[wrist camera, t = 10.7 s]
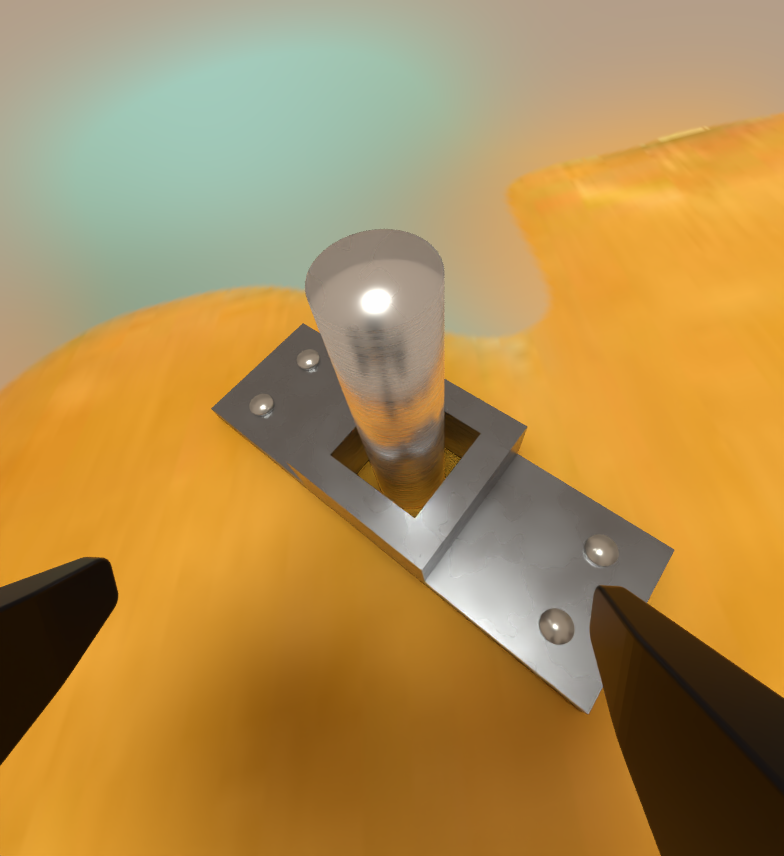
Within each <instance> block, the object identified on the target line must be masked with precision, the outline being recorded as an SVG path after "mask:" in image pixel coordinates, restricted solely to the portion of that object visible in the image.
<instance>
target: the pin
mask: <svg viewBox="0 0 784 856" xmlns="http://www.w3.org/2000/svg"><path fill="white" fill-rule="evenodd" d="M305 292H306V297H307V300H308V302H309V305H310V308H311V310H312V313H313V315H314V318H315V321H316V323H317V326H318V328H319V331H320V334H321V336H322V339H323V341H324V344H325V347H326V349H327V352H328V354H329V357H330V360H331V362H332V365H333V367H334V370H335V373H336V375H337V378H338V380H339V383H340V386H341V388H342V391H343V393H344V396H345V399H346V401H347V404H348V406H349V409H350V412H351V414H352V417H353V419H354V422H355V425H356V427H357V430H358V432H359V435H360V438H361V440H362V443H363V445H364V448H365V451H366V453H367V456H368V458H369V461H370V464H371V466H372V469H373V471H374V474H375V477H376V479H377V482H378V484H379V487H380V490H381V492H382V494H383V495H384V496H385V497H387V498H388V499H389V500H391V501H392V502H393V503H395V504H396V505H397V506H399V507H401V508H406V509H416V508H420V507H423V506H425V505H426V503H427V502H428V501H429V500H430V498H431V497H432V496H433V494H434V493H435V492H436V491H437V489H438V488H439V487H440V485H441V484H442V483H443V482H444V266H443V262H442V259H441V257H440V255H439V253H438V252H437V251H436V249H435V248H434V247H433V246H432V245H431V244H430V243H428V242H427V241H426V240H424V239H423V238H421V237H419V236H417V235H414V234H411V233H408V232H404V231H400V230H392V229H375V230H368V231H363V232H359V233H356V234H352V235H349V236H347V237H345V238H343V239H340V240H339V241H337V242H335V243H334V244H332V245H330V246H329V247H328V248H326V249H325V250H324V251H323V252H322V253H321V254H320V255H319V256H318V257H317V258H316V259H315V261H314V262H313V263H312V265H311V267H310V269H309V271H308V273H307V276H306V281H305Z"/></svg>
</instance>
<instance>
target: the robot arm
mask: <svg viewBox="0 0 784 856" xmlns="http://www.w3.org/2000/svg"><path fill="white" fill-rule="evenodd" d="M117 601H118V590H117V586H116V582H115V578H114V574H113V570H112V566H111V563H110V562H109V561H108V560H107V559H105V558H99V557H83V558H80V559H77V560H75V561H72V562H69V563H66V564H64V565H61V566H58V567H55V568H53V569H50V570H47V571H44V572H42V573H39V574H36V575H33V576H31V577H28V578H25V579H22V580H20V581H17V582H14V583H11V584H8V585H6V586H3V587H0V766H1V764H2V763H3V762H4V760H5V759H6V758H7V757H8V755H9V754H10V753H11V751H12V750H13V749H14V748H15V746H16V745H17V744H18V742H19V741H20V740H21V739H22V737H23V736H24V735H25V733H26V732H27V731H28V730H29V728H30V727H31V726H32V724H33V723H34V722H35V721H36V719H37V718H38V717H39V715H40V714H41V713H42V712H43V710H44V709H45V708H46V706H47V705H48V704H49V703H50V701H51V700H52V699H53V697H54V696H55V695H56V693H57V692H58V691H59V689H60V688H61V687H62V685H63V684H64V683H65V681H66V680H67V678H68V677H69V676H70V674H71V673H72V671H73V670H74V668H75V667H76V665H77V664H78V662H79V661H80V659H81V658H82V656H83V655H84V653H85V652H86V650H87V649H88V647H89V646H90V644H91V643H92V641H93V640H94V638H95V637H96V635H97V634H98V632H99V631H100V629H101V628H102V626H103V625H104V623H105V622H106V620H107V619H108V617H109V616H110V614H111V612H112V611H113V609H114V608H115V606H116V604H117ZM589 632H590V639H591V644H592V647H593V651H594V655H595V659H596V662H597V666H598V670H599V674H600V677H601V681H602V685H603V689H604V692H605V696H606V700H607V704H608V707H609V711H610V715H611V719H612V722H613V726H614V729H615V733H616V736H617V739H618V742H619V745H620V748H621V751H622V754H623V756H624V759H625V762H626V764H627V767H628V770H629V772H630V775H631V778H632V780H633V783H634V786H635V788H636V791H637V794H638V796H639V799H640V802H641V804H642V807H643V810H644V812H645V815H646V818H647V820H648V823H649V826H650V828H651V831H652V833H653V836H654V839H655V841H656V844H657V847H658V849H659V852H660V855H661V856H784V698H783V697H781V696H780V695H779V694H777V693H776V692H774V691H773V690H771V689H770V688H768V687H767V686H766V685H764V684H763V683H761V682H760V681H758V680H757V679H756V678H754V677H753V676H751V675H750V674H748V673H747V672H745V671H744V670H743V669H741V668H740V667H738V666H737V665H735V664H734V663H732V662H731V661H730V660H728V659H727V658H725V657H724V656H722V655H721V654H719V653H718V652H717V651H715V650H714V649H712V648H711V647H709V646H708V645H706V644H705V643H704V642H702V641H701V640H699V639H698V638H696V637H695V636H694V635H692V634H691V633H689V632H688V631H686V630H685V629H683V628H682V627H681V626H679V625H678V624H676V623H675V622H673V621H672V620H670V619H669V618H668V617H666V616H665V615H663V614H662V613H660V612H659V611H657V610H656V609H655V608H653V607H652V606H650V605H649V604H647V603H646V602H645V601H643V600H642V599H640V598H639V597H637V596H636V595H634V594H633V593H632V592H630V591H629V590H627V589H626V588H624V587H621V586H608V585H599V586H597V587H596V588H595V591H594V594H593V602H592V609H591V616H590V624H589Z"/></svg>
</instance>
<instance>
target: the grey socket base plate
mask: <svg viewBox="0 0 784 856" xmlns="http://www.w3.org/2000/svg"><path fill="white" fill-rule="evenodd" d="M211 409H212V410H213V411H214V412H215V413H216V414H217V415H218V416H219V417H220V418H221V419H222V420H223V421H225V422H226V423H227V424H228V425H230V426H231V427H232V428H233V429H234V430H236V431H237V432H238V433H239V434H241V435H242V436H243V437H244V438H246V439H247V440H248V441H249V442H250V443H252V444H253V445H254V446H255V447H257V448H258V449H259V450H260V451H262V452H263V453H264V454H265V455H266V456H268V457H269V458H270V459H271V460H273V461H274V462H275V463H276V464H278V465H279V466H280V467H281V468H282V469H284V470H285V471H286V472H287V473H289V474H290V475H291V476H292V477H293V478H295V479H296V480H297V481H298V482H300V483H301V484H302V485H303V486H305V487H306V488H307V489H308V490H309V491H311V492H312V493H313V494H314V495H316V496H317V497H318V498H319V499H321V500H322V501H323V502H324V503H325V504H327V505H328V506H329V507H330V508H332V509H333V510H334V511H335V512H337V513H338V514H339V515H340V516H341V517H343V518H344V519H345V520H346V521H348V522H349V523H350V524H351V525H352V526H354V527H355V528H356V529H357V530H359V531H360V532H361V533H362V534H364V535H365V536H366V537H367V538H368V539H370V540H371V541H372V542H373V543H375V544H376V545H377V546H378V547H380V548H381V549H382V550H383V551H384V552H386V553H387V554H388V555H389V556H391V557H392V558H393V559H394V560H396V561H397V562H398V563H399V564H400V565H402V566H403V567H404V568H405V569H407V570H408V571H409V572H410V573H412V574H413V575H414V576H415V577H416V578H418V579H419V580H420V581H421V582H423V583H424V584H425V585H426V586H427V587H429V588H430V589H431V590H432V591H434V592H435V593H436V594H437V595H439V596H440V597H441V598H442V599H443V600H445V601H446V602H447V603H448V604H450V605H451V606H452V607H453V608H455V609H456V610H457V611H458V612H459V613H461V614H462V615H463V616H464V617H466V618H467V619H468V620H469V621H471V622H472V623H473V624H474V625H475V626H477V627H478V628H479V629H480V630H482V631H483V632H484V633H485V634H487V635H488V636H489V637H490V638H491V639H493V640H494V641H495V642H496V643H498V644H499V645H500V646H501V647H502V648H504V649H505V650H506V651H507V652H509V653H510V654H511V655H512V656H514V657H515V658H516V659H517V660H518V661H520V662H521V663H522V664H523V665H525V666H526V667H527V668H528V669H530V670H531V671H532V672H533V673H534V674H536V675H537V676H538V677H539V678H541V679H542V680H543V681H544V682H546V683H547V684H548V685H549V686H550V687H552V688H553V689H554V690H555V691H557V692H558V693H559V694H560V695H562V696H563V697H564V698H565V699H566V700H568V701H569V702H570V703H571V704H573V705H574V706H575V707H576V708H577V709H579V710H580V711H581V712H584V713H586V714H589V712H590V711H591V709H592V707H593V705H594V703H595V701H596V699H597V697H598V695H599V693H600V691H601V689H602V688H603V685H602V681H601V677H600V674H599V670H598V666H597V662H596V659H595V655H594V651H593V647H592V644H591V639H590V632H589V624H590V616H591V609H592V602H593V594H594V591H595V588H596V587H597V586H599V585H608V586H621V587H624V588H626V589H627V590H629V591H630V592H632V593H633V594H634V595H636V596H637V597H639V598H640V599H642V600H643V601H645V602H646V603H647V602H648V600H649V598H650V596H651V594H652V592H653V590H654V588H655V586H656V584H657V582H658V581H659V579H660V577H661V575H662V573H663V571H664V569H665V567H666V565H667V563H668V561H669V560H670V558H671V556H672V554H673V552H674V549H672V548H671V547H669V546H667V545H666V544H664V543H662V542H661V541H659V540H658V539H656V538H654V537H653V536H651V535H649V534H648V533H646V532H644V531H643V530H641V529H640V528H638V527H636V526H635V525H633V524H631V523H630V522H628V521H626V520H625V519H623V518H622V517H620V516H618V515H617V514H615V513H613V512H612V511H610V510H608V509H607V508H605V507H603V506H602V505H600V504H599V503H597V502H595V501H594V500H592V499H590V498H589V497H587V496H585V495H584V494H582V493H581V492H579V491H577V490H576V489H574V488H572V487H571V486H569V485H567V484H566V483H564V482H563V481H561V480H559V479H558V478H556V477H554V476H553V475H551V474H549V473H548V472H546V471H544V470H543V469H541V468H540V467H538V466H536V465H535V464H533V463H531V462H530V461H528V460H526V459H525V458H523V457H522V456H520V455H518V451H519V448H520V446H521V443H522V440H523V437H524V435H525V432H526V429H527V426H525V425H524V424H522V423H520V422H518V421H517V420H515V419H513V418H511V417H510V416H508V415H506V414H504V413H503V412H501V411H499V410H498V409H496V408H494V407H492V406H491V405H489V404H487V403H485V402H484V401H482V400H480V399H479V398H477V397H475V396H473V395H472V394H470V393H468V392H466V391H465V390H463V389H461V388H459V387H458V386H456V385H454V384H453V383H451V382H449V381H447V380H446V379H444V447H445V448H447V449H448V450H450V451H451V452H453V453H454V454H456V455H457V456H459V457H461V460H460V461H459V462H458V464H457V465H456V466H455V467H454V469H453V470H452V471H451V473H450V474H449V475H448V476H447V478H446V479H445V480H444V482H443V483H442V484H441V485H440V487H439V488H438V489H437V491H436V492H435V493H434V494H433V496H432V497H431V498H430V500H429V501H428V502H427V503H426V505H425V506H424V507H423V509H422V510H421V511H420V512H419V514H418V515H417V516H416V518H413V517H412V516H411V515H409V514H408V513H407V512H405V511H404V510H403V509H401V508H400V507H399V506H397V505H396V504H395V503H393V502H392V501H391V500H389V499H388V498H387V497H385V496H384V495H383V494H381V493H380V492H379V491H377V490H376V489H375V488H373V487H372V486H371V485H369V484H368V483H367V482H365V481H364V480H363V479H361V478H360V477H359V476H357V475H356V474H357V473H358V472H359V471H360V469H361V468H362V467H363V466H364V465H365V464H366V463H367V461H368V460H369V458H368V456H367V453H366V451H365V448H364V445H363V443H362V440H361V438H360V435H359V432H358V430H357V427H356V425H355V422H354V419H353V417H352V414H351V412H350V409H349V406H348V404H347V401H346V399H345V396H344V393H343V391H342V388H341V386H340V383H339V380H338V378H337V375H336V373H335V370H334V367H333V365H332V362H331V360H330V357H329V354H328V352H327V349H326V347H325V344H324V341H323V339H322V336H321V334H320V333H318V332H317V331H315V330H313V329H312V328H310V327H308V326H307V325H305V324H304V323H303V324H302V325H301V326H300V327H299V328H297V329H296V330H295V331H294V332H293V333H292V334H291V335H290V336H289V337H288V338H287V339H286V340H285V341H283V342H282V343H281V344H280V345H279V346H278V347H277V348H276V349H275V350H274V351H273V352H272V353H271V354H269V355H268V356H267V357H266V358H265V359H264V360H263V361H262V362H261V363H260V364H259V365H258V366H257V367H255V368H254V369H253V370H252V371H251V372H250V373H249V374H248V375H247V376H246V377H245V378H244V379H243V380H242V381H240V382H239V383H238V384H237V385H236V386H235V387H234V388H233V389H232V390H231V391H230V392H229V393H228V394H226V395H225V396H224V397H223V398H222V399H221V400H220V401H219V402H218V403H217V404H216V405H215V406H214V407H212V408H211Z"/></svg>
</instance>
